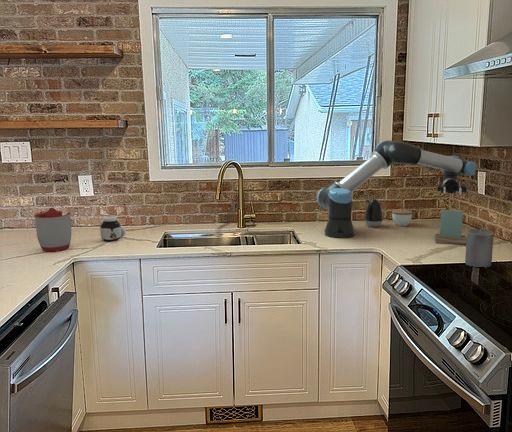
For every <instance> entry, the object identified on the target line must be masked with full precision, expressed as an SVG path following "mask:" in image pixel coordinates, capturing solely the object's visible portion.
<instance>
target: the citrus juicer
mask: <svg viewBox="0 0 512 432" xmlns="http://www.w3.org/2000/svg"><path fill="white" fill-rule="evenodd" d="M33 217H34V220H35V229H36V237H37V241H38V243H39V245H40V246H39V247H40V249H41V250H42V251H43V252H52V253H56V252H59V251H60V252H61V251H64V250H65V251H66V250H67V249H69V248H70V246H71V241H72V222H73V219H72V218H71V211H69V212H67V213H66V214H64V215H63V211H62V210H57V209H56V208H54V207H50V208H49V209H48V210H47V211H42V212H39V213H35V214H34V215H33Z"/></svg>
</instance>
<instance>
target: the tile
mask: <svg viewBox="0 0 512 432" xmlns="http://www.w3.org/2000/svg"><path fill="white" fill-rule="evenodd" d="M463 219H464V210H459V209H457V210H456V209H455V210H454V209H440V221H439V222H440V223H439V225H440V226H439V234H440V236H449V237H461V235H463V234H462V233H463Z"/></svg>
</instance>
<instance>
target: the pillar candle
mask: <svg viewBox="0 0 512 432" xmlns="http://www.w3.org/2000/svg"><path fill="white" fill-rule="evenodd" d="M494 235H495V233H494V231H492V230H488V229H482V228H478V229H477V228H473V229H471V228H470V229H468V230H467V231H466V240H467V243H466V245H465V260H464V263H465V265H466V266H468V265H469V266H468V267H471V266H473V267H472V268H475V267H485V268H484V269H488V268H487V267H489V268H491V267H492V261H493V249H494V248H493V246H494ZM490 266H491V267H490Z"/></svg>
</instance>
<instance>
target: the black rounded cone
mask: <svg viewBox="0 0 512 432" xmlns="http://www.w3.org/2000/svg"><path fill="white" fill-rule="evenodd" d="M365 202H366V203H367V206H366V209H365V213H364V217H363V218H364V219H363V220H364V222H365V225H367V226H368V227H370V228H371V227H372V228H377V227H380V225H382V223H383V220H384V215H383V214H384V213H383V209H382V206H381V203H380V201H379V200H378V199H375V198H372V199H370V200H369V199H366V200H365Z"/></svg>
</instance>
